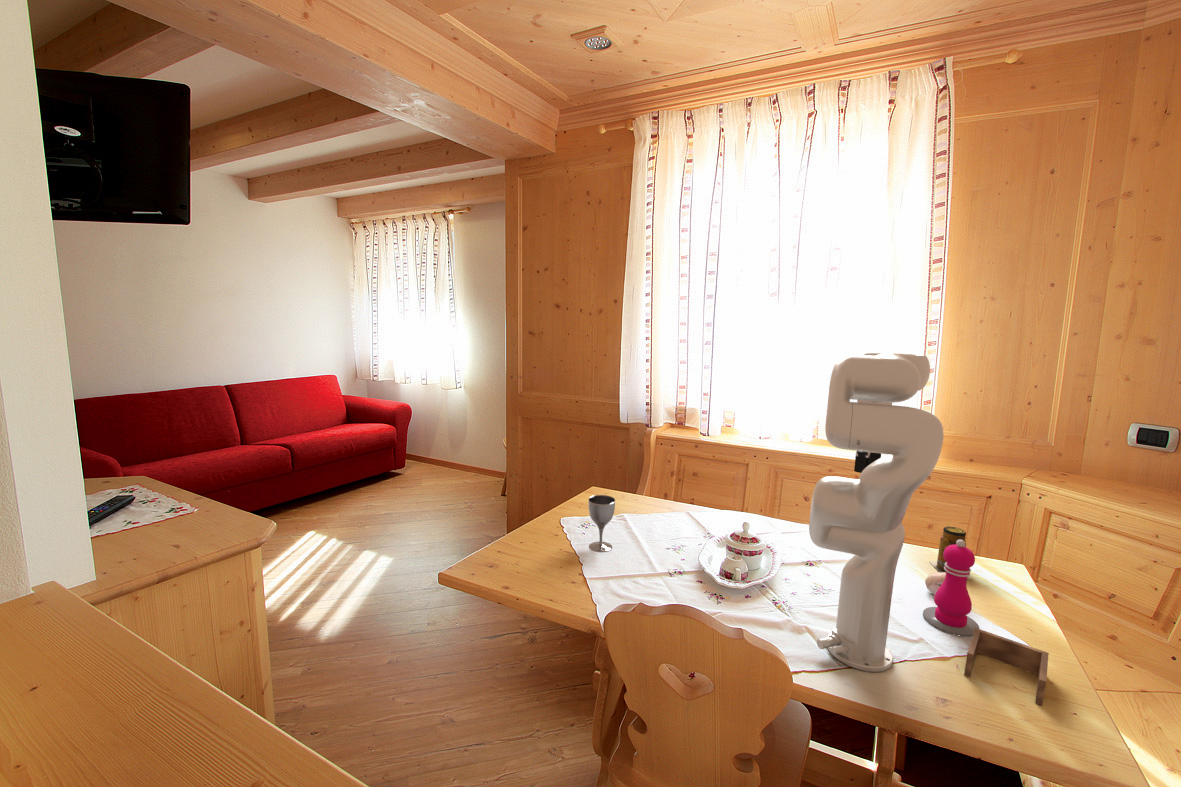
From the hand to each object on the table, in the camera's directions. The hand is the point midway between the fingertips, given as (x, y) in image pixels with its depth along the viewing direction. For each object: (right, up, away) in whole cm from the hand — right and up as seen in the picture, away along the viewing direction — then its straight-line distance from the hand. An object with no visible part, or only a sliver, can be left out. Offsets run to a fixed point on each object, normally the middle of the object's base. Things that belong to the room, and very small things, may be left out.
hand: (867, 468), depth 131 cm
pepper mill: (+16, -35, -7) cm, 39 cm away
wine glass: (-66, -28, +28) cm, 77 cm away
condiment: (+33, -32, +18) cm, 49 cm away
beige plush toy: (+21, -34, +5) cm, 40 cm away
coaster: (+16, -35, -7) cm, 39 cm away
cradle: (+14, -38, -25) cm, 48 cm away
